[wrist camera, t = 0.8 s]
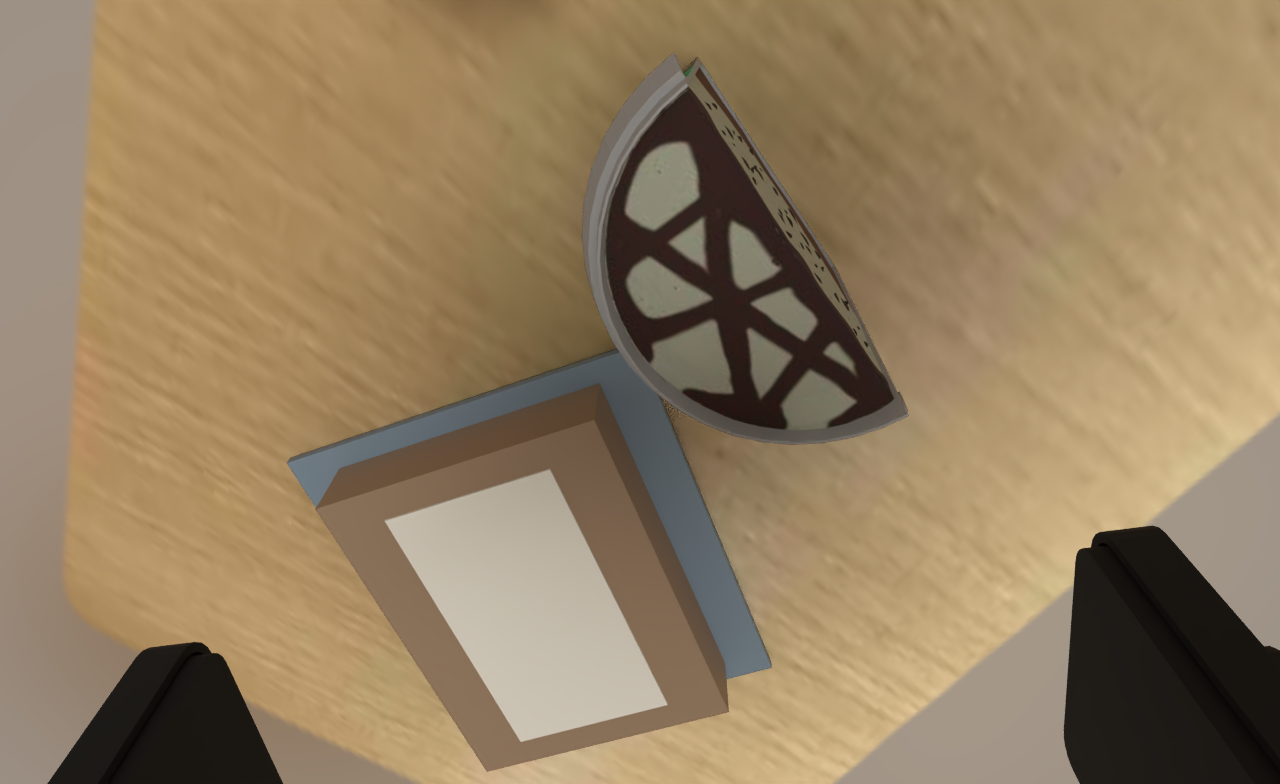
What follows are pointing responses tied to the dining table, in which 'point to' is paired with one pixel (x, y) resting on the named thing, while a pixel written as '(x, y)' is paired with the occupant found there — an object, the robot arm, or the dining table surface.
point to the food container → (723, 275)
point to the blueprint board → (544, 561)
